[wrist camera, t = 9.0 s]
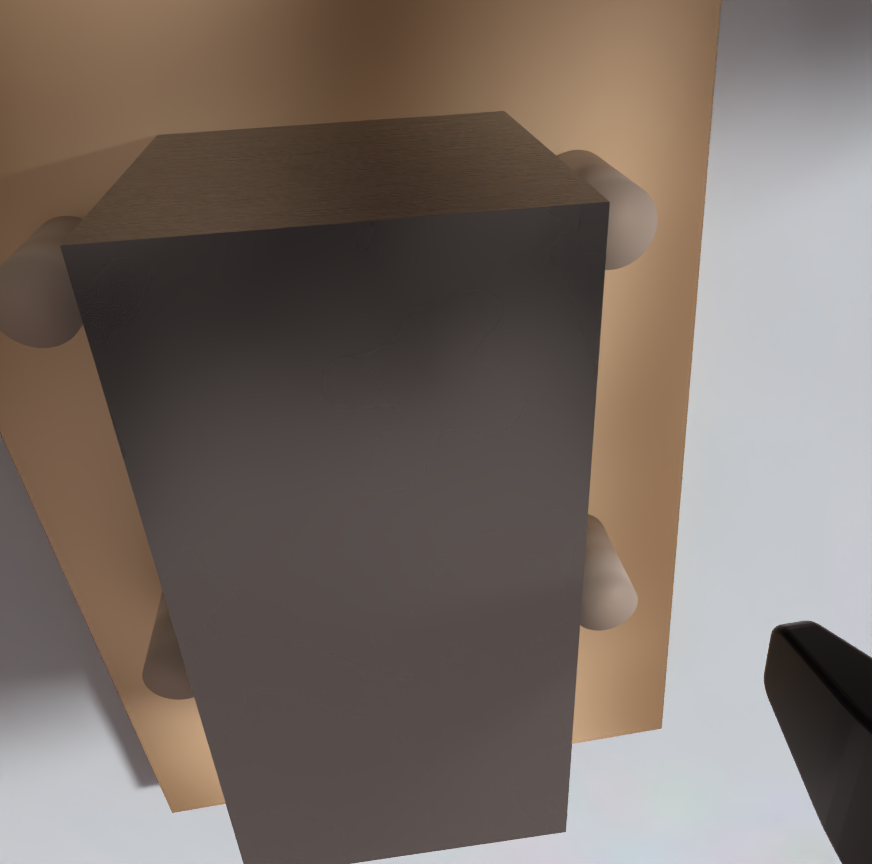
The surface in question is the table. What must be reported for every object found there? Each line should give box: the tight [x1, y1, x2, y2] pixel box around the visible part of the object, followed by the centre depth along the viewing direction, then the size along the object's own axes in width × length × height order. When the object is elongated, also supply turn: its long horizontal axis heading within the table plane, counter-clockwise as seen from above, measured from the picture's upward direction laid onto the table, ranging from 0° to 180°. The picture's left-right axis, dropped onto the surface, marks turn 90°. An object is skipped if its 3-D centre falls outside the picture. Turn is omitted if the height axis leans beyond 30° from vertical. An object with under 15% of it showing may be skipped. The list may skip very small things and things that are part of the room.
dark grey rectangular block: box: [60, 111, 610, 864], centre depth 12 cm, size 5×10×5 cm, turn 3°
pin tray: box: [0, 0, 721, 813], centre depth 14 cm, size 12×20×3 cm, turn 6°
